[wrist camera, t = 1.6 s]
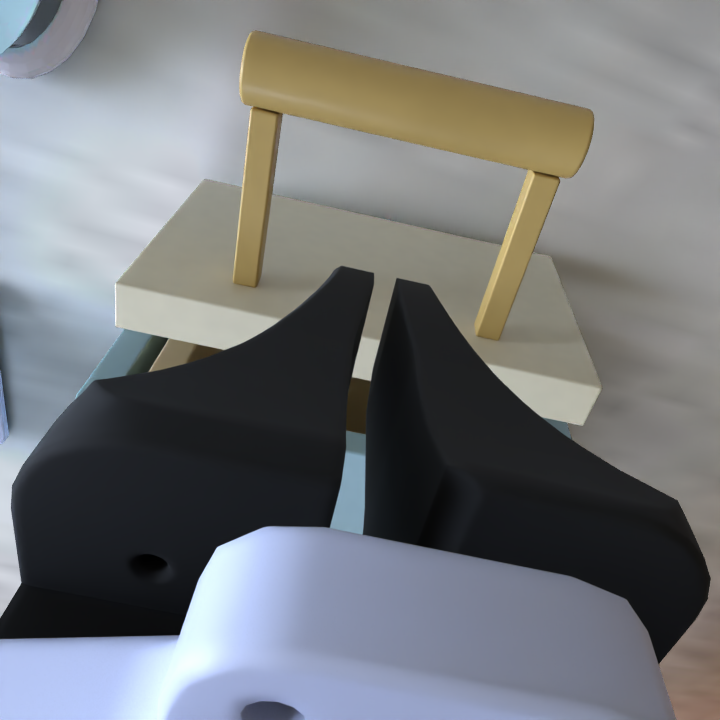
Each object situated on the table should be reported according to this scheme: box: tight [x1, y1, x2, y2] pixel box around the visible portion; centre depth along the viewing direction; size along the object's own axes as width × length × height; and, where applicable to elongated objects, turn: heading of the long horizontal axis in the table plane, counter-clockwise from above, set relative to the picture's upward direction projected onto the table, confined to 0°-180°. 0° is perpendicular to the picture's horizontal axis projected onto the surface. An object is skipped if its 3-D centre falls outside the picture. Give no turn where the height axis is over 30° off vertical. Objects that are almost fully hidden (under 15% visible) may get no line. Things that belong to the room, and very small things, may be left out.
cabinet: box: [76, 329, 572, 534], centre depth 24 cm, size 17×13×9 cm
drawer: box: [115, 30, 602, 435], centre depth 21 cm, size 21×11×7 cm, turn 168°
